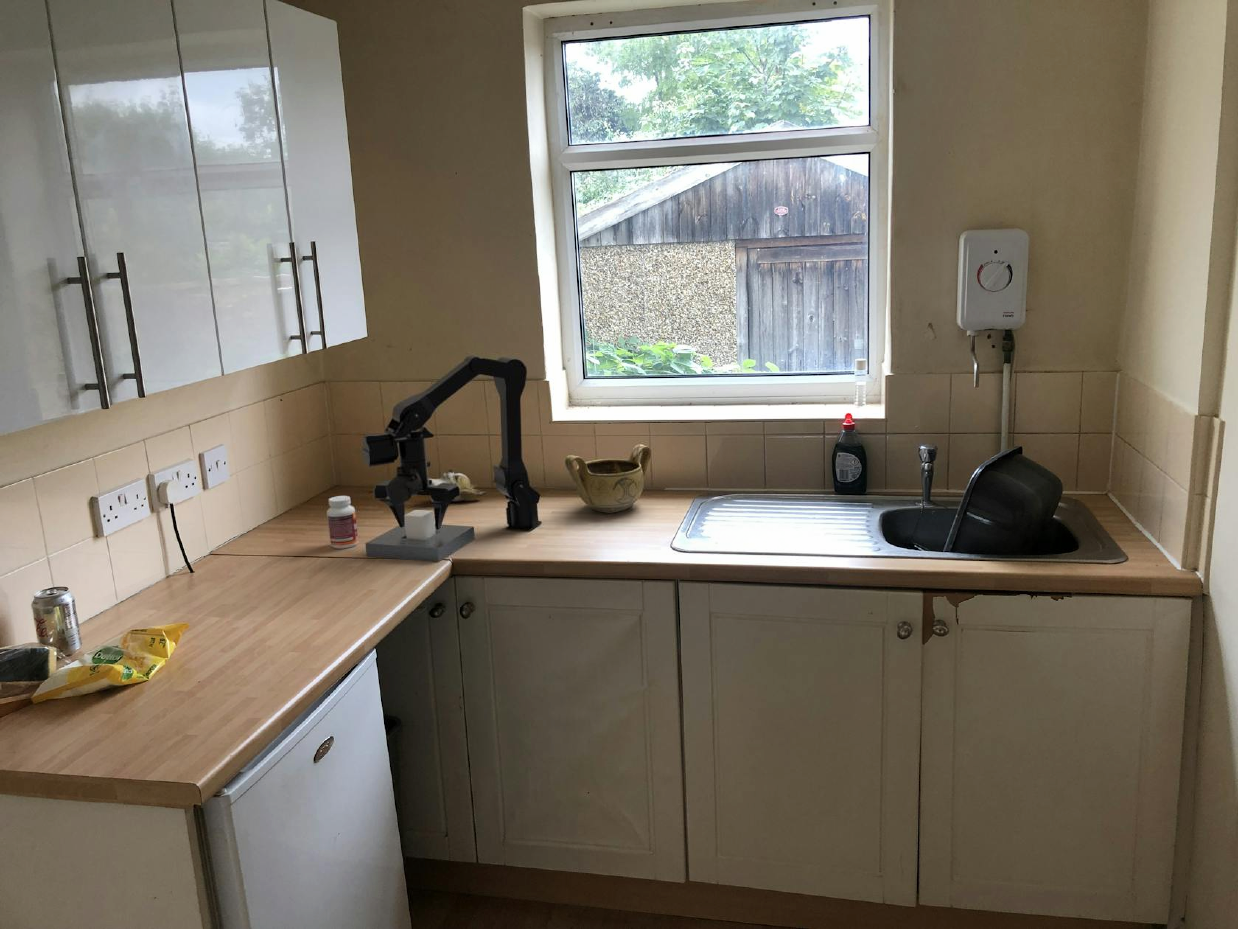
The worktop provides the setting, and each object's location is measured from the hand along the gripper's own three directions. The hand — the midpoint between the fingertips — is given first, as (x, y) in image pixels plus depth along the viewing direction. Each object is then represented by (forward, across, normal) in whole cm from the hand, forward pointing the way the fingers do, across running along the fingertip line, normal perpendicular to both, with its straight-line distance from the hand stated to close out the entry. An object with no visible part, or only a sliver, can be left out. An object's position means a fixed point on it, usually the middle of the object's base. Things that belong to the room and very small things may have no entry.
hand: (420, 528), depth 220 cm
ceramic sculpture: (+5, -13, +37) cm, 39 cm away
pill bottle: (+5, -19, -2) cm, 20 cm away
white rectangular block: (+4, 0, 0) cm, 4 cm away
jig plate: (+4, 0, 0) cm, 4 cm away
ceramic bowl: (+5, +31, +37) cm, 48 cm away
